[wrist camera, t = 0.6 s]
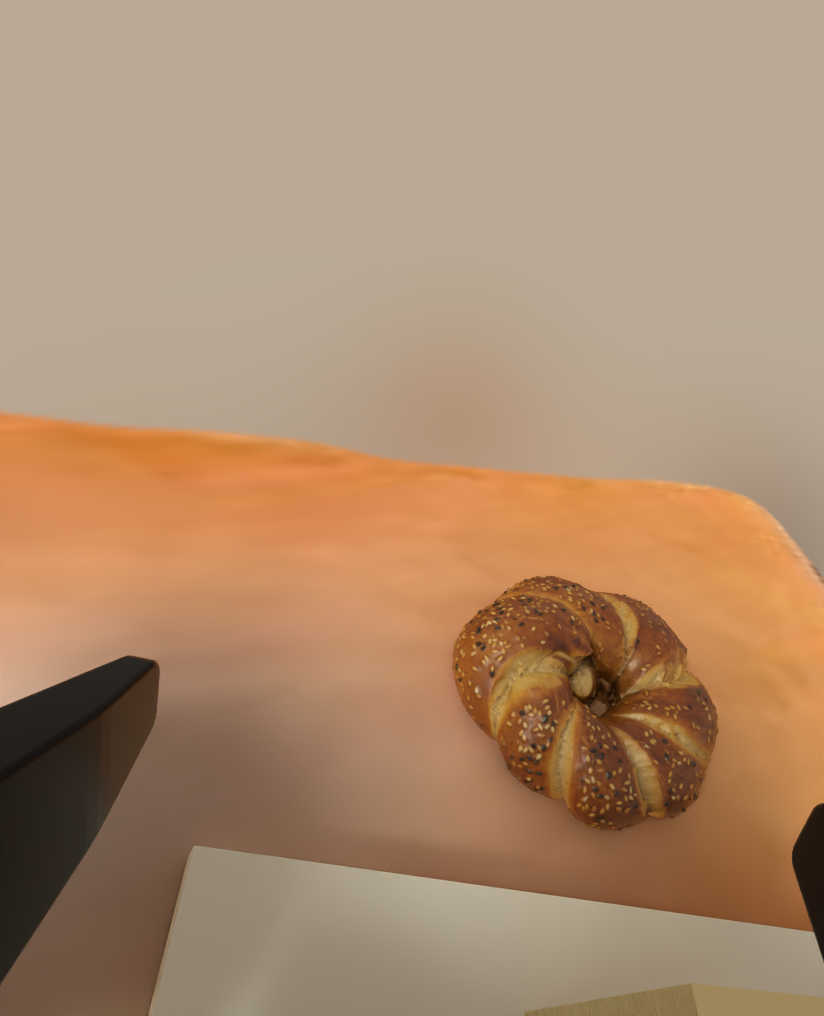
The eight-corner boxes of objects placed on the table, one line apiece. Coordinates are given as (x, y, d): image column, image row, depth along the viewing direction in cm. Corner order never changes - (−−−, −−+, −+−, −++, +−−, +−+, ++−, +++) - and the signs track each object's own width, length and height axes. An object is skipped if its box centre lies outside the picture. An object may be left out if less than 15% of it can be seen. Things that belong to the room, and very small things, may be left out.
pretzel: (428, 790, 23) (471, 753, 20) (454, 564, 31) (488, 517, 28) (707, 874, 25) (779, 850, 22) (665, 642, 32) (715, 604, 30)
